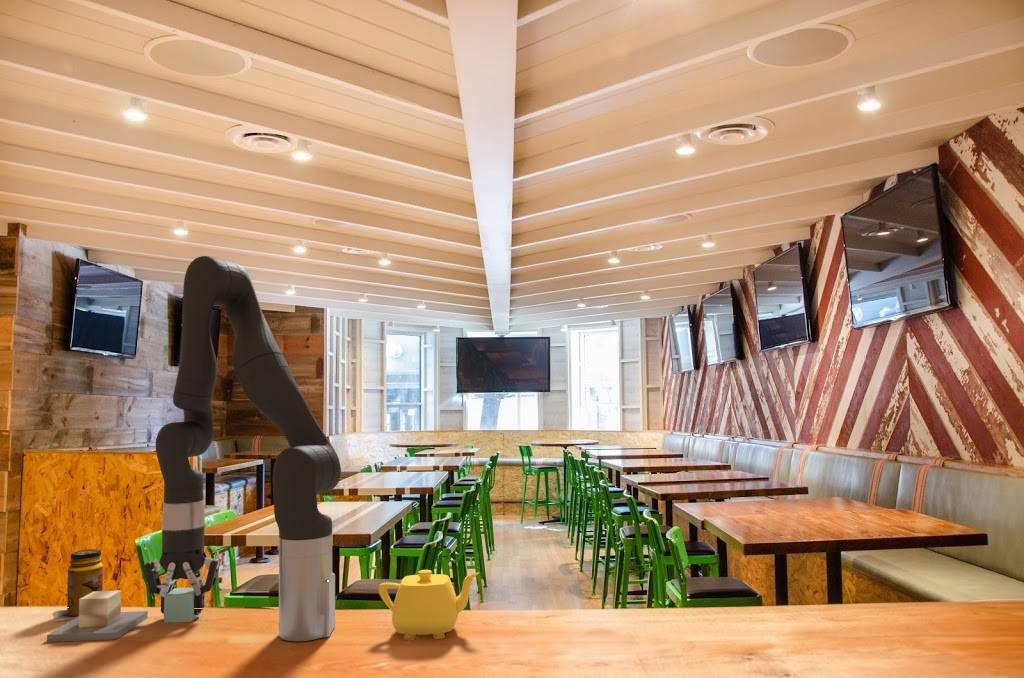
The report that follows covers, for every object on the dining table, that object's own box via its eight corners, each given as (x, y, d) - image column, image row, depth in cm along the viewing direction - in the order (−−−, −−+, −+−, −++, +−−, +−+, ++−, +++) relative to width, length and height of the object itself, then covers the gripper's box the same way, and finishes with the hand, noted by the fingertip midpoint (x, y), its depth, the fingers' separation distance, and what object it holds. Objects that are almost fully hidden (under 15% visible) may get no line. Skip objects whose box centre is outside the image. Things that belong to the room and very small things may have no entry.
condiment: (105, 614, 142) (106, 552, 143) (54, 622, 137) (56, 558, 138) (102, 605, 148) (103, 545, 149) (53, 613, 143) (55, 551, 144)
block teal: (200, 613, 141) (200, 587, 142) (191, 621, 136) (191, 594, 137) (174, 614, 141) (174, 588, 141) (163, 622, 136) (164, 595, 136)
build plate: (147, 617, 139) (147, 611, 139) (117, 639, 127) (117, 632, 127) (83, 619, 138) (83, 613, 138) (46, 641, 126) (47, 634, 126)
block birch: (120, 617, 135) (120, 590, 136) (107, 626, 130) (107, 598, 131) (93, 618, 135) (93, 591, 135) (78, 627, 130) (79, 599, 131)
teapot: (480, 620, 133) (479, 561, 134) (479, 641, 122) (478, 577, 123) (383, 623, 133) (382, 564, 134) (373, 645, 122) (373, 580, 123)
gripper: (227, 520, 144) (227, 607, 143) (153, 522, 143) (152, 610, 142) (214, 527, 136) (213, 619, 135) (136, 529, 135) (135, 622, 134)
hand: (182, 614), depth 139 cm, fingers closed on block teal, 5 cm apart
